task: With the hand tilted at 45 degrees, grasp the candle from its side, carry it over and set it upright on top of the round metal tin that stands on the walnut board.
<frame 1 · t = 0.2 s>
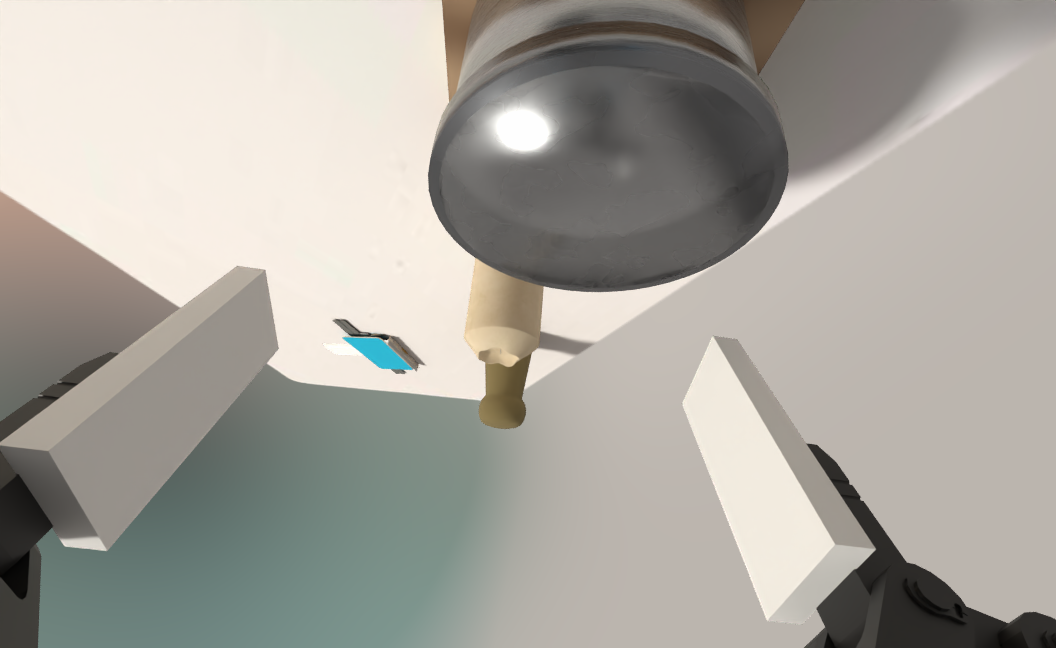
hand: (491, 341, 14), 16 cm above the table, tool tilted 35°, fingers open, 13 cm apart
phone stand: (370, 344, 63), on the table
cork: (510, 333, 54), on the table
wooden board: (600, 47, 21), on the table
candle: (512, 241, 37), on the table
round metal tin: (599, 69, 21), resting on wooden board
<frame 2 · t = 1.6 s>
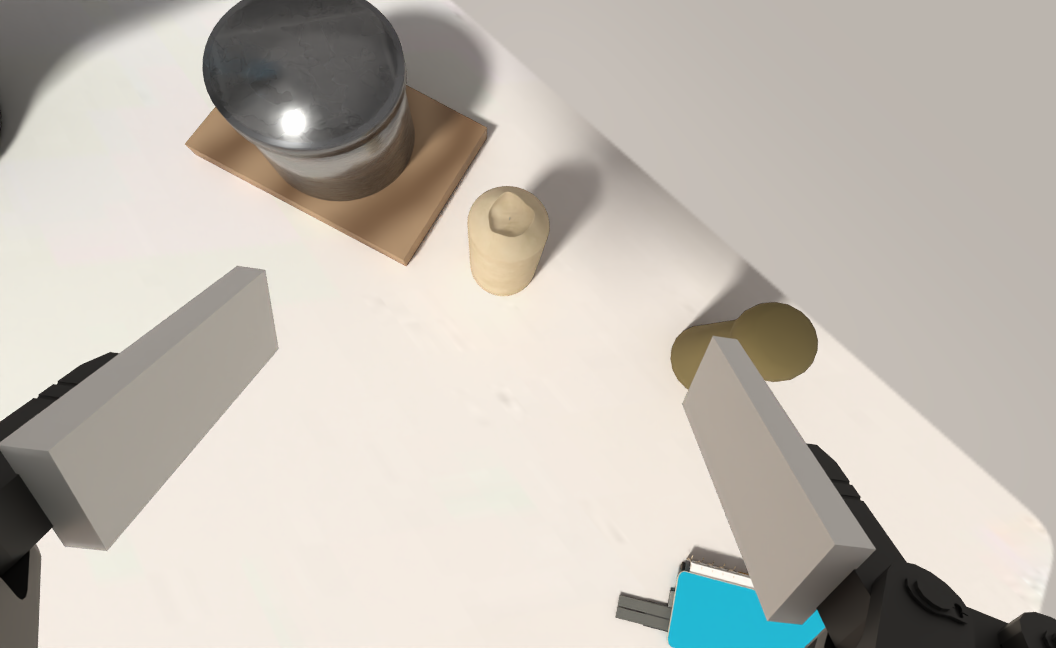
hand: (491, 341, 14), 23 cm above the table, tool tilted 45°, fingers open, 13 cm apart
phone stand: (735, 644, 35), on the table
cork: (703, 360, 39), on the table
wooden board: (347, 146, 39), on the table
candle: (502, 266, 39), on the table
round metal tin: (341, 135, 38), resting on wooden board
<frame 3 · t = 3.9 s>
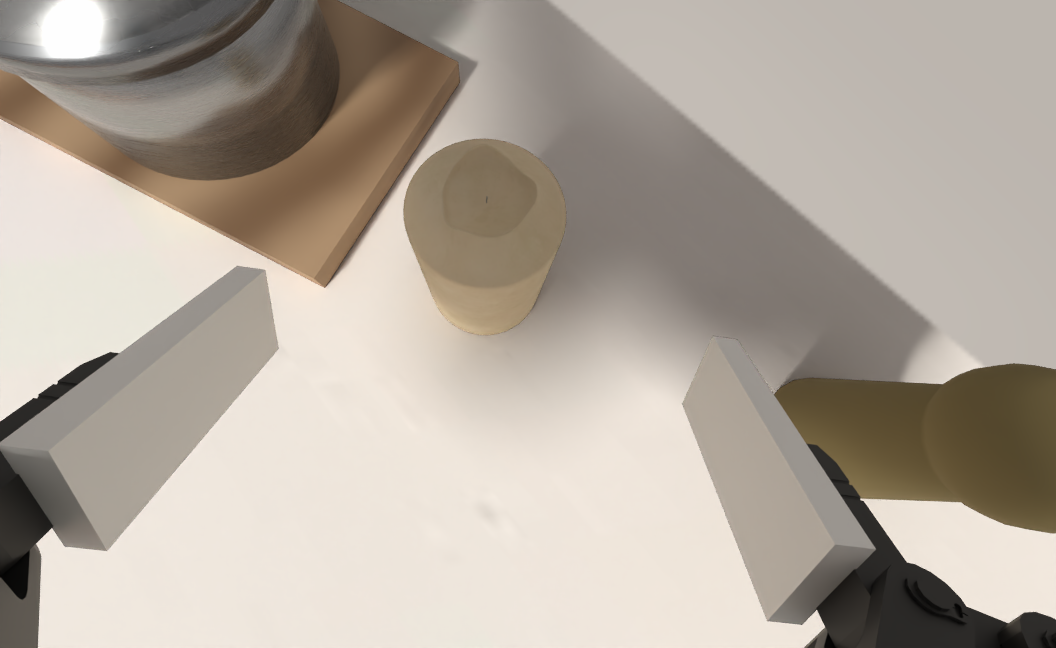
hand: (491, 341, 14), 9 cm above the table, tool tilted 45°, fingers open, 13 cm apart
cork: (814, 435, 24), on the table
wooden board: (233, 94, 24), on the table
candle: (485, 286, 24), on the table
round metal tin: (217, 73, 23), resting on wooden board
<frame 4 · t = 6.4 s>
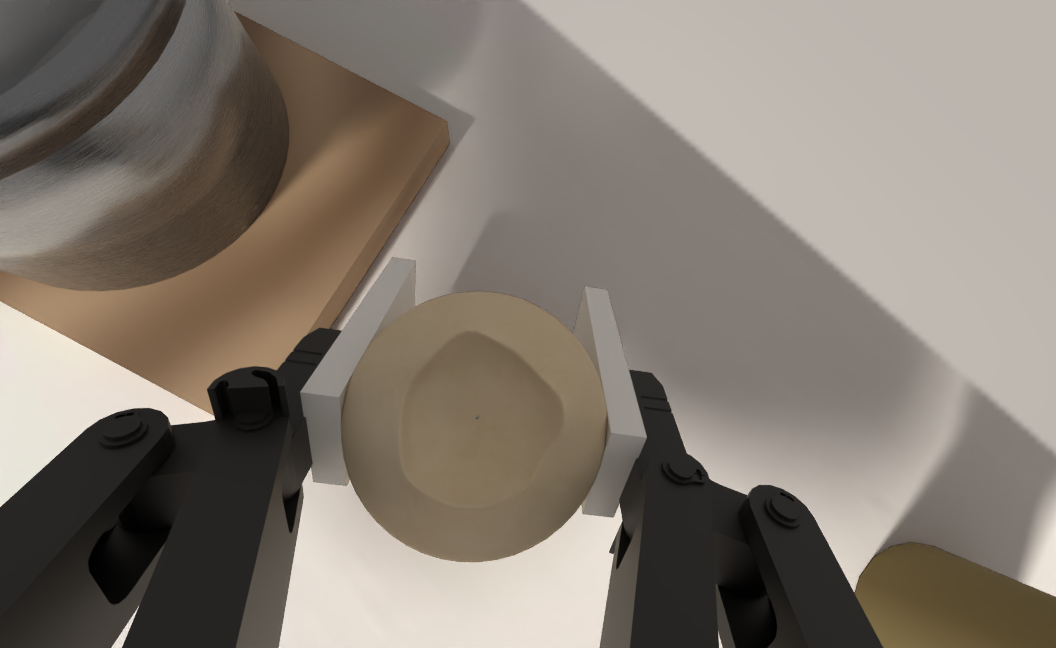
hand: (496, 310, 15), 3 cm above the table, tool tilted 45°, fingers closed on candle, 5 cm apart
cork: (919, 624, 18), on the table
wooden board: (152, 162, 19), on the table
candle: (481, 421, 18), on the table, touching gripper
round metal tin: (124, 140, 17), resting on wooden board
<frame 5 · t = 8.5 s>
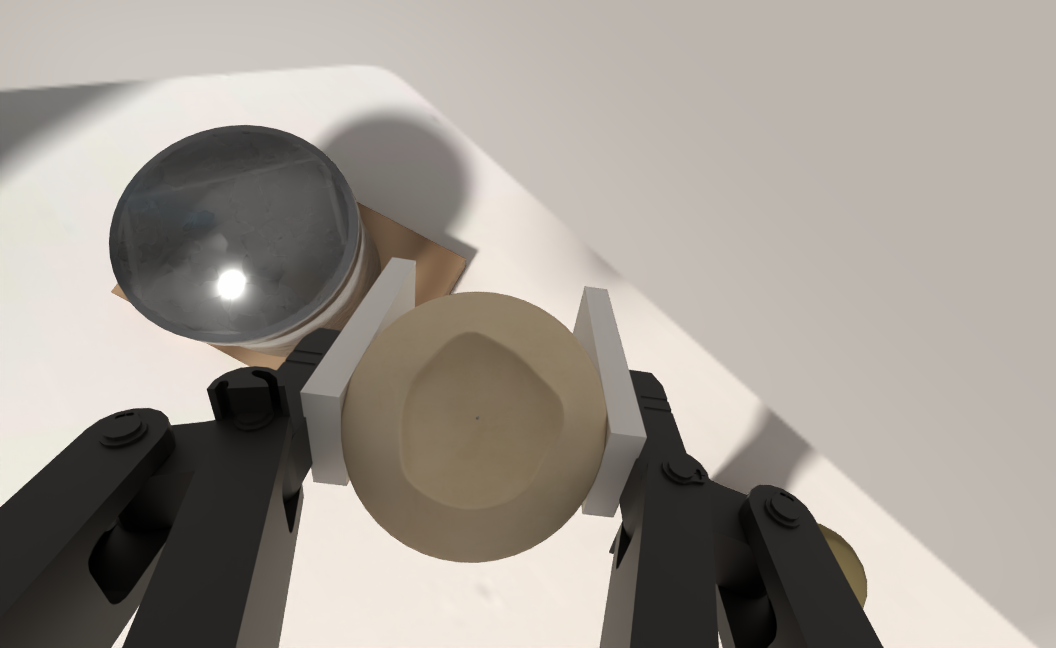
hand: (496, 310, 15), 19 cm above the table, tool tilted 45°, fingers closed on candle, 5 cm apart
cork: (719, 531, 33), on the table
wooden board: (303, 281, 34), on the table
candle: (481, 421, 18), point 16 cm above the table, touching gripper
round metal tin: (295, 274, 33), resting on wooden board
when the fingers open (14 cm above the table, at t = 11.1 s): candle drops 1 cm, resting on round metal tin.
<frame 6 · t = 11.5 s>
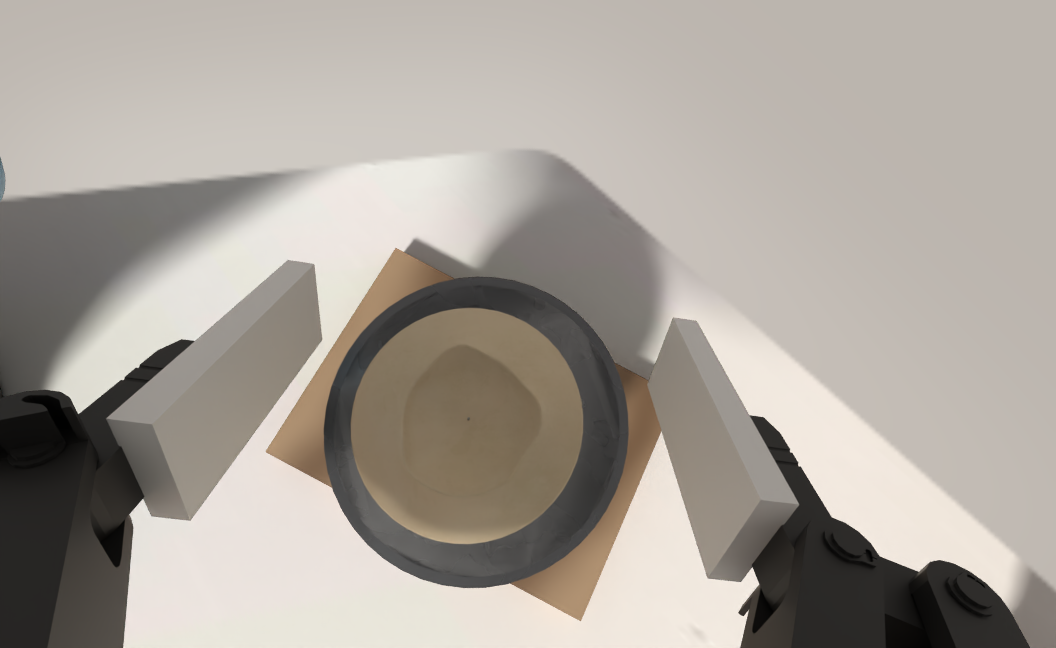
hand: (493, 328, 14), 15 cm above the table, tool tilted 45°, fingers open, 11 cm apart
wooden board: (482, 422, 28), on the table
candle: (478, 421, 19), point 9 cm above the table, touching round metal tin
round metal tin: (482, 421, 27), resting on wooden board
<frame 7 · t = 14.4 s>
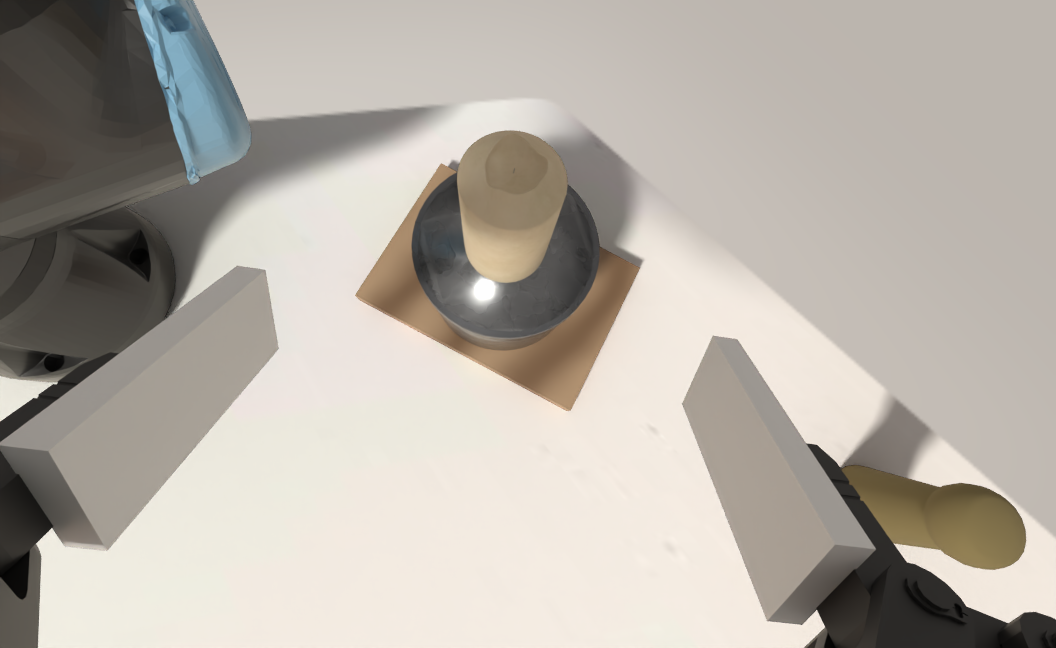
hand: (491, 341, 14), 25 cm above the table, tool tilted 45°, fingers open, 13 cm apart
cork: (858, 501, 39), on the table
wooden board: (502, 286, 40), on the table
candle: (505, 246, 31), point 9 cm above the table, touching round metal tin
round metal tin: (502, 281, 39), resting on wooden board
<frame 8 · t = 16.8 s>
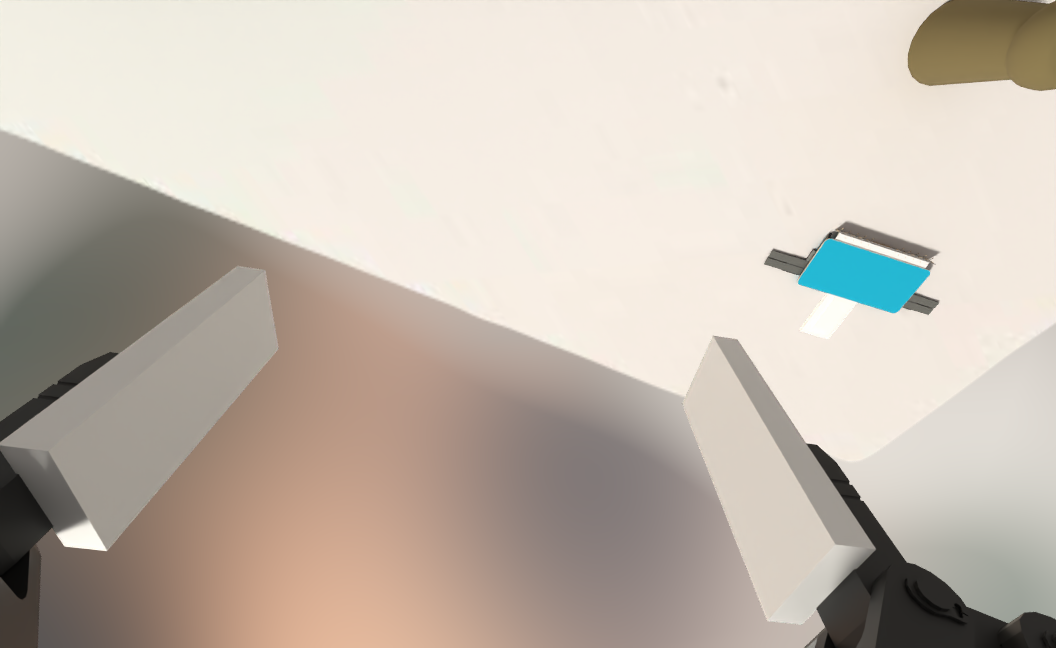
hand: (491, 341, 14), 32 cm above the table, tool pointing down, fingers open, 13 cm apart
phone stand: (843, 286, 48), on the table
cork: (947, 42, 36), on the table
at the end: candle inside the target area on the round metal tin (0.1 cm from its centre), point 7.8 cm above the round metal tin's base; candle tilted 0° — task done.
